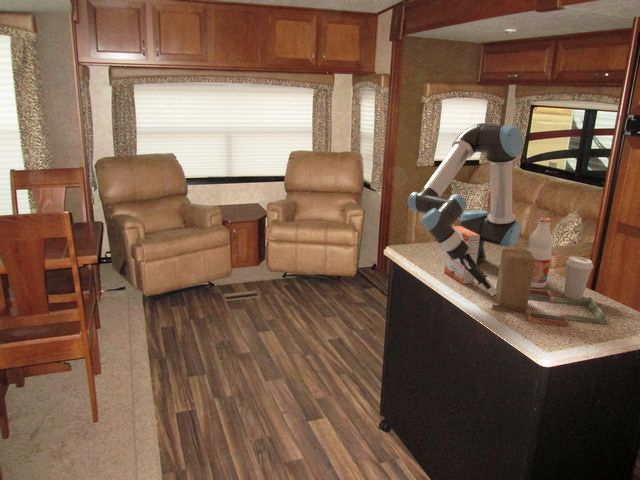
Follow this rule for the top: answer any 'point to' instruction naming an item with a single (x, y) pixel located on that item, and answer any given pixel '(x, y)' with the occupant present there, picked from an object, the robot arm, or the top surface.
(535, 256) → the fruit juice
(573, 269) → the coffee cup
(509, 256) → the wooden block
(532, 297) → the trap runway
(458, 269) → the cracker box
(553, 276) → the top surface
